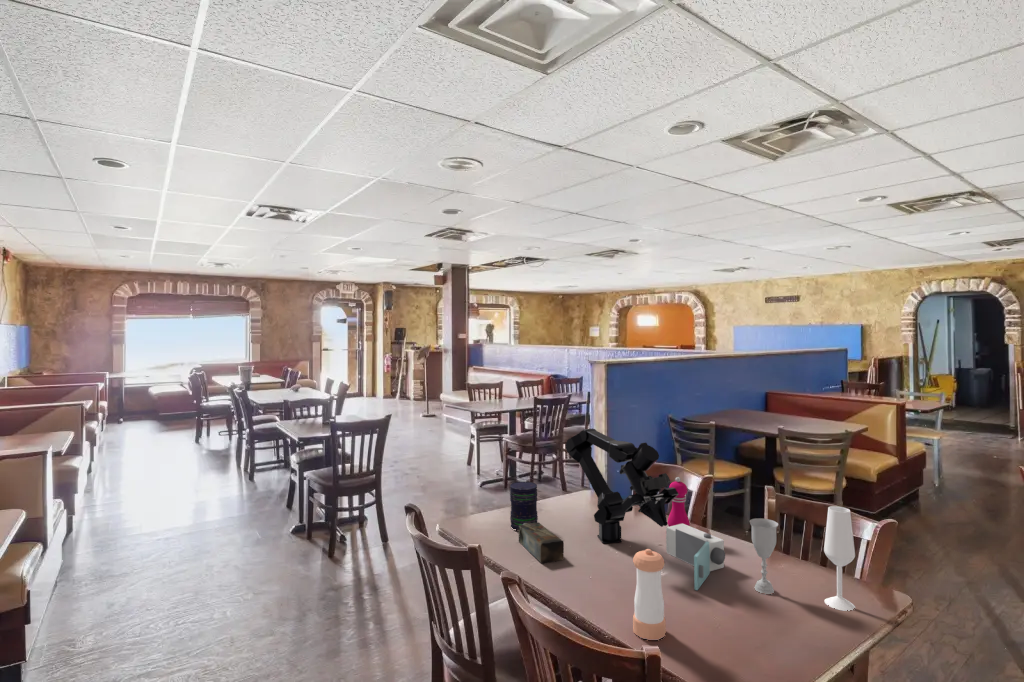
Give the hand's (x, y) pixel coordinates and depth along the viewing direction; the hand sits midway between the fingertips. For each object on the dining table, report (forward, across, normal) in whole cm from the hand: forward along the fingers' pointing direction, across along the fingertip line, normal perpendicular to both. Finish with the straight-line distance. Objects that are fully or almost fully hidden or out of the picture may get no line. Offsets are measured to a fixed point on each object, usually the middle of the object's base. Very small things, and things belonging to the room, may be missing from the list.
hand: (664, 525), depth 157 cm
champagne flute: (+35, +22, -19) cm, 46 cm away
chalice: (+25, +12, -8) cm, 29 cm away
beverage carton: (-11, -24, +31) cm, 41 cm away
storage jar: (-26, -17, +46) cm, 55 cm away
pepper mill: (-2, +23, +20) cm, 30 cm away
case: (+9, +12, +8) cm, 17 cm away
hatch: (+17, +2, 0) cm, 17 cm away
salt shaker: (+25, -28, -7) cm, 38 cm away
